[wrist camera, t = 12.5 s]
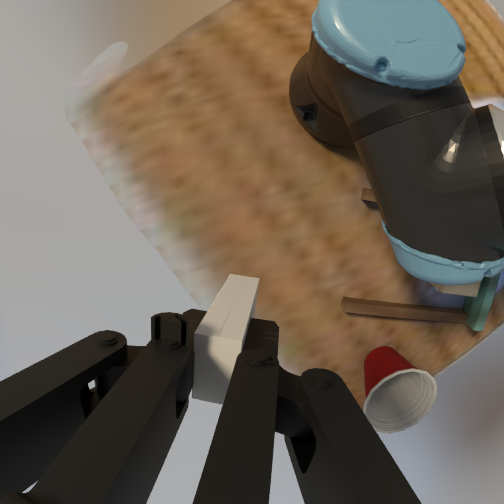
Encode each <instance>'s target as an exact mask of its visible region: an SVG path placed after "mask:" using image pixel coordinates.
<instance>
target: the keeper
mask: <svg viewBox="0 0 504 504" xmlns="http://www.w3.org/2000/svg"><path fill="white" fill-rule="evenodd" d="M480 283H481V281H480V282H476V283H472V284H465V285H441V284H434V283H430V284H431V285H432V286H434V287H435V288H436V289H438V290H439V291H440V292H442V293H447V294H455V295H463V296H472V297H477V294H478V290H479V287H480Z"/></svg>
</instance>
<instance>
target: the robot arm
mask: <svg viewBox="0 0 504 504" xmlns="http://www.w3.org/2000/svg"><path fill="white" fill-rule="evenodd" d="M311 25H312V26H313V28H312V34H311V40H310V47H309V52H308V53H306V54H305V55H304V56H303V57H302V58H301V59H300V60H299V61H298V63H297V64H296V66H295V68H294V69H293V72H292V74H291V78H290V84H289V98H290V103H291V107H292V110H293V112H294V114H295V116H296V118H297V119H298V121H299V122H300V124H301V125H302V126H303V127H304V128H305V129H306V130H307V131H308V132H309V133H310V134H311V135H312V136H314V137H315V138H317V139H319V140H320V141H322V142H324V143H326V144H329V145H332V146H335V147H340V148H356V149H357V151H358V154H359V156H360V159H361V161H362V164H363V166H364V169H365V172H366V174H367V177H368V179H369V182H370V185H371V188H372V190H373V193H374V196H375V199H376V202H377V205H378V207H379V210H380V213H381V216H382V219H383V220H382V226H383V229H384V231H385V233H386V234H387V236H388V237H389V239H390V242H391V245H392V248H393V251H394V254H395V257H396V259H397V261H398V263H399V264H400V265H401V266H402V267H403V268H404V269H405V270H406V271H407V272H408V273H409V274H410V275H412V276H414V277H416V278H418V279H420V280H423V281H426V282H430V283H434V284H441V285H465V284H472V283H476V282H480V281H482V279H483V277H493V276H495V275H496V274H498V273H499V272H501V271H502V270H503V269H504V111H503V110H501V109H499V108H498V107H496V106H494V105H493V104H489V105H486V106H483V107H479V108H476V109H474V108H473V107H472V105H471V103H470V100H469V98H468V96H467V93H466V91H465V89H464V87H463V85H462V82H461V80H460V78H459V76H458V75H460V72H461V71H462V69H463V66H464V63H465V56H464V52H465V51H466V45H465V40H464V36H463V34H462V32H461V29H460V27H459V26H458V24H457V22H456V21H455V19H454V18H453V16H452V15H451V14H450V13H449V12H448V10H447V9H446V8H445V7H444V6H443V5H442V4H441V3H440V2H439V1H438V0H319V3H318V6H317V8H316V10H315V11H314V13H313V16H312V24H311ZM258 285H259V278H253V277H246V276H240V275H233V274H230V275H229V277H228V278H227V280H226V282H225V283H224V285H223V287H222V288H221V290H220V292H219V293H218V295H217V296H216V298H215V300H214V301H213V303H212V305H211V306H210V308H209V310H208V311H202V310H196V309H191V310H188V311H186V312H184V313H183V314H182V315H181V314H178V313H171V312H168V313H159V314H156V315H154V316H152V317H151V341H150V342H149V343H148V344H147V345H146V346H129V345H127V339H126V338H125V336H124V335H123V334H121V333H119V332H115V331H110V330H105V331H99V332H96V333H94V334H92V335H90V336H88V337H86V338H84V339H82V340H80V341H78V342H76V343H74V344H72V345H70V346H68V347H67V348H65V349H63V350H61V351H59V352H57V353H55V354H53V355H51V356H49V357H47V358H45V359H44V360H41V361H39V362H37V363H35V364H33V365H31V366H30V367H28V368H26V369H24V370H22V371H20V372H18V373H16V374H14V375H12V376H10V377H8V378H7V379H4V380H2V381H0V504H146V503H147V500H148V498H149V496H150V493H151V491H152V489H153V486H154V484H155V482H156V480H157V477H158V475H159V473H160V471H161V468H162V466H163V464H164V461H165V459H166V457H167V454H168V452H169V449H170V448H171V445H172V443H173V441H174V438H175V436H176V434H177V431H178V429H179V427H180V425H181V422H182V420H183V417H184V415H185V413H186V411H187V408H188V403H189V398H188V397H189V394H190V392H191V389H192V398H195V399H199V400H203V401H208V402H213V403H218V404H223V406H222V409H221V413H220V416H219V419H218V423H217V426H216V429H215V433H214V436H213V440H212V443H211V446H210V449H209V453H208V456H207V459H206V462H205V466H204V469H203V472H202V475H201V478H200V482H199V485H198V488H197V491H196V495H195V498H194V501H193V504H269V494H270V484H271V472H272V460H273V448H274V434H275V432H278V433H281V434H284V436H285V443H286V446H287V449H288V452H289V456H290V459H291V462H292V465H293V468H294V471H295V474H296V478H297V481H298V484H299V487H300V490H301V493H302V496H303V500H304V503H305V504H421V502H420V500H419V499H418V498H417V496H416V494H415V493H414V491H413V490H412V488H411V486H410V485H409V483H408V481H407V480H406V478H405V477H404V475H403V474H402V472H401V471H400V469H399V467H398V466H397V464H396V463H395V461H394V459H393V458H392V456H391V455H390V453H389V452H388V450H387V448H386V447H385V445H384V444H383V442H382V440H381V439H380V437H379V436H378V434H377V433H376V431H375V430H374V428H373V426H372V425H371V423H370V422H369V420H368V419H367V417H366V415H365V414H364V412H363V411H362V409H361V408H360V406H359V405H358V403H357V401H356V400H355V398H354V397H353V395H352V394H351V392H350V391H349V389H348V387H347V386H346V384H345V383H344V381H343V380H342V378H341V377H340V376H339V375H338V374H336V373H334V372H332V371H330V370H326V369H319V368H314V369H308V370H306V371H305V372H303V373H302V375H301V376H298V375H294V374H292V373H289V372H287V371H286V370H284V369H283V368H282V367H281V366H280V365H279V361H278V359H277V356H278V338H279V327H278V325H277V324H276V323H275V322H274V321H269V320H262V319H255V318H254V314H255V307H256V300H257V293H258ZM92 380H94V381H95V387H94V388H92V389H89V387H88V383H89V382H91V381H92ZM37 481H38V482H37ZM35 482H37V483H36V484H35V486H34V487H33V488H32V489H31V490H30V491H29V492H27V493H22V492H23V491H25V490H26V489H27V488H28V487H30V486H31V485H32V484H34V483H35Z"/></svg>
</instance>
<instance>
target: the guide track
mask: <svg viewBox="0 0 504 504" xmlns="http://www.w3.org/2000/svg"><path fill="white" fill-rule="evenodd" d="M361 199H363V200H368V201H373V202H376V199H375V196H374V193H373V190H371V189H365V188H363V190H362V197H361ZM499 276H500V272H499V273H498V274H496V275H495V276H493V277H483V279H482V281H481V283H480V287H479V290H478V294H477V297H472V296H467V297H466V300H465V303H464V307H463V310H459V309H448V308H438V307H428V306H418V305H409V304H400V303H391V302H382V301H373V300H365V299H357V298H349V297H343V299H342V304H341V308H342V310H343V312H349V313H358V314H367V315H377V316H387V317H397V318H408V319H420V320H432V321H445V322H460V323H466V324H467V325H468V326H469V327H471V328H472V329H473V330H474V331H483V328H484V325H485V322H486V319H487V316H488V313H489V310H490V307H491V304H492V301H493V298H494V294H495V291H496V287H497V284H498V280H499Z"/></svg>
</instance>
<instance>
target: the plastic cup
mask: <svg viewBox="0 0 504 504" xmlns="http://www.w3.org/2000/svg"><path fill="white" fill-rule="evenodd" d="M364 373H365V392H366V400H365V402H364V408H363V412H364V414H365V415H366V417H367V419H368V420H369V422H370V423H371V425H372V426H373V428H374V430H375V431H376V432H383V433H393V432H398V431H403V430H405V429H407V428H409V427H411V426H413V425H415V424H416V423H417V422H419V421H420V420H421V419H422V418H423V417H424V416H425V415H426V414H427V413H428V412H429V410H430V409H431V407H432V405H433V404H434V402H435V398H436V394H437V386H436V382H435V379H434V378H433V377H432V376H431V375H430V374H429V373H428V372H427V371H424V370H419V369H417V368H415V367H414V366H412V365H411V364H410V363H409V362H408V361H407V360H406V359H405V358H404V357H402V356H401V355H400V354H399V353H398V352H396V351H395V350H394V349H393V348H391V347H387V346H383V347H378V348H376V349H374V350H372V351H371V352H370V353H369V354H368V356H367V357H366V359H365V363H364Z"/></svg>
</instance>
